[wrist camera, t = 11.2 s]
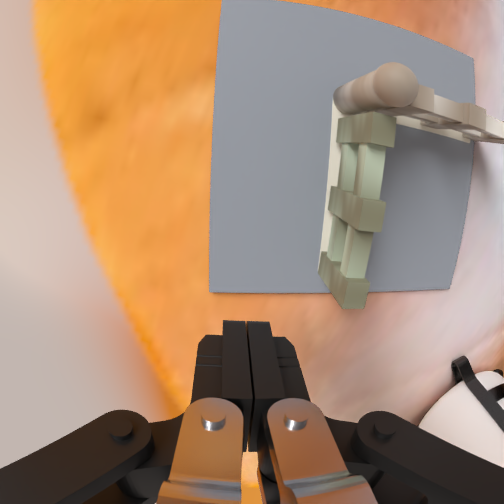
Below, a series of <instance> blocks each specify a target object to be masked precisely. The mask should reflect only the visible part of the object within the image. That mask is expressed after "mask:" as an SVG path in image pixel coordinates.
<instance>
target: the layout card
mask: <svg viewBox="0 0 504 504" xmlns="http://www.w3.org/2000/svg"><path fill="white" fill-rule="evenodd" d="M389 62H397V63H401V64H403V65H405V66H407V67H408V68H409V69H410V70H411V71H412V72H413V73H414V74H415V76H416V78H417V80H418V84H420V85H423V86H426V87H429V88H432V89H434V94H435V95H438V96H441V97H444V98H446V99H449V100H452V101H455V102H457V103H469V102H470V103H472V104H474V105H475V76H474V60H473V58H471V57H469V56H467V55H465V54H463V53H461V52H459V51H457V50H455V49H453V48H450V47H448V46H446V45H443V44H441V43H439V42H436V41H434V40H432V39H429V38H427V37H424V36H421V35H419V34H416V33H413V32H411V31H408V30H405V29H402V28H399V27H396V26H393V25H390V24H387V23H384V22H380V21H377V20H373V19H370V18H366V17H363V16H359V15H355V14H351V13H346V12H342V11H338V10H333V9H328V8H323V7H318V6H312V5H306V4H300V3H293V2H285V1H277V0H222V5H221V16H220V27H219V39H218V52H217V65H216V80H215V96H214V114H213V134H212V158H211V189H210V242H209V292H226V293H331V292H330V290H329V289H328V287H327V286H326V284H325V283H324V281H323V280H322V279H321V277H320V276H319V274H318V269H319V263H320V257H321V251H326V252H327V251H328V245H329V239H330V232H331V226H332V219H333V213H332V212H330V211H329V210H328V204H329V197H330V189H331V186H337V183H338V175H339V167H340V159H341V150H342V143H337V142H336V137H337V127H338V118H343V117H348V116H353V115H358V114H363V113H367V111H365V112H360V113H355V114H344V113H342V112H340V111H339V110H338V109H337V108H336V106H335V104H334V101H333V93H334V91H335V90H336V89H337V88H338V87H340V86H342V85H344V84H346V83H348V82H350V81H352V80H355V79H357V78H359V77H361V76H363V75H366V74H368V73H370V72H372V71H375V70H377V69H378V68H379V67H380V66H381V65H383V64H385V63H389ZM393 117H396V118H397V119H396V131H395V141H394V148H390V147H386V153H385V162H384V170H383V177H382V185H381V191H380V198H379V200H382V201H384V202H386V208H385V214H384V220H383V225H382V231H381V232H374V233H373V239H372V244H371V249H370V254H369V259H368V263H367V268H366V273H365V278H366V279H367V280H368V281H369V282H370V287H369V291H368V292H384V291H412V290H434V289H450V285H451V281H452V278H453V274H454V270H455V266H456V262H457V258H458V253H459V249H460V244H461V239H462V234H463V229H464V224H465V218H466V212H467V206H468V199H469V192H470V184H471V175H472V165H473V153H474V141H473V140H470V139H467V138H464V137H462V133H461V132H458V131H455V130H452V129H434V128H430V127H427V126H423V125H420V120H417V119H413V118H409V117H405V116H393Z"/></svg>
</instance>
